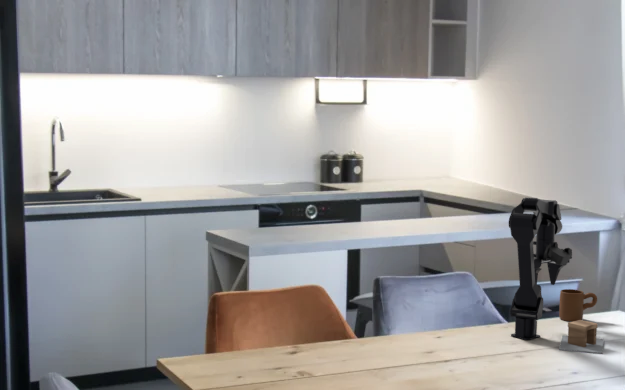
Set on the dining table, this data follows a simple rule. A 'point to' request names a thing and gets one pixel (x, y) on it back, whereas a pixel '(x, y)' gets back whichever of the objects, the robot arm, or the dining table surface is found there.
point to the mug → (574, 304)
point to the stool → (582, 333)
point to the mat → (589, 347)
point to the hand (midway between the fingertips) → (543, 286)
